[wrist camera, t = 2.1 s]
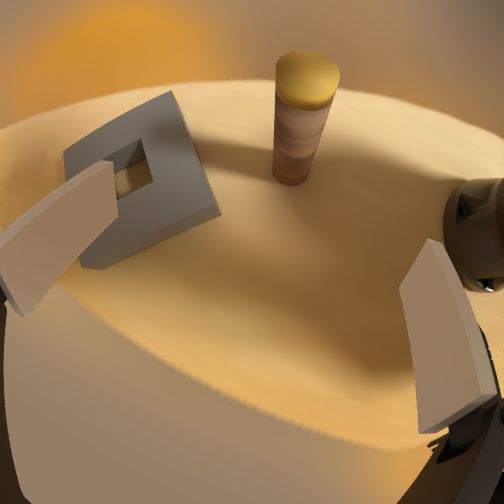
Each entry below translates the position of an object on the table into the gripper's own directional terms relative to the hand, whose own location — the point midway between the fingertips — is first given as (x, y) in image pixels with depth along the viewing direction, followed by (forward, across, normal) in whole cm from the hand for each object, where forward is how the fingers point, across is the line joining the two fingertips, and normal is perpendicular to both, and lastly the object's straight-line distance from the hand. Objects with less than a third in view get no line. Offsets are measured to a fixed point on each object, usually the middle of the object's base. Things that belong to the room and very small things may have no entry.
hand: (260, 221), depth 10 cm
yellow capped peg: (+21, 0, -5) cm, 22 cm away
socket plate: (+17, -17, -9) cm, 26 cm away
